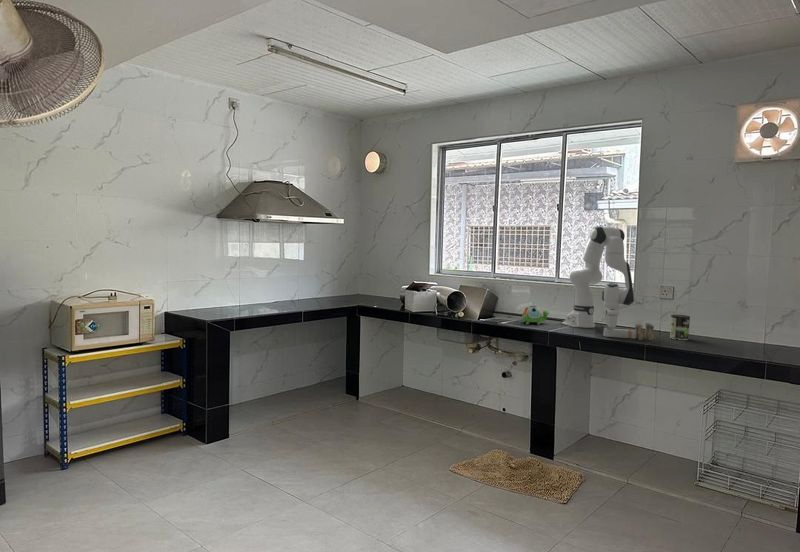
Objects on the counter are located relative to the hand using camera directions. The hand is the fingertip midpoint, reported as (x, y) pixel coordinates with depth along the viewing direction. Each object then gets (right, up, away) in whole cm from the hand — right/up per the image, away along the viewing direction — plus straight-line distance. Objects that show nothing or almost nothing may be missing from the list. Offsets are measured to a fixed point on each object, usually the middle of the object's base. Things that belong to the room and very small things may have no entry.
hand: (609, 332), depth 337 cm
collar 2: (+22, -3, -4) cm, 23 cm away
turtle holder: (-35, +2, +45) cm, 57 cm away
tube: (+6, -2, -1) cm, 6 cm away
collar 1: (+16, -3, -3) cm, 17 cm away
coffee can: (+42, -4, -1) cm, 42 cm away
